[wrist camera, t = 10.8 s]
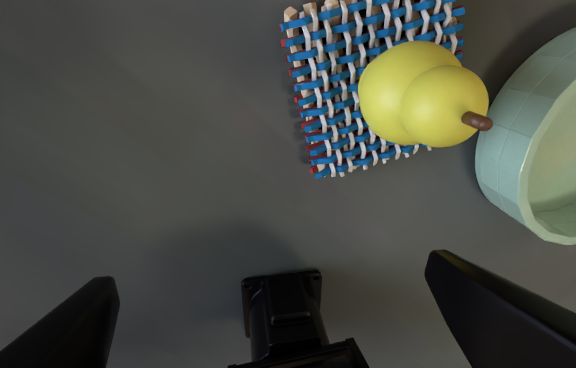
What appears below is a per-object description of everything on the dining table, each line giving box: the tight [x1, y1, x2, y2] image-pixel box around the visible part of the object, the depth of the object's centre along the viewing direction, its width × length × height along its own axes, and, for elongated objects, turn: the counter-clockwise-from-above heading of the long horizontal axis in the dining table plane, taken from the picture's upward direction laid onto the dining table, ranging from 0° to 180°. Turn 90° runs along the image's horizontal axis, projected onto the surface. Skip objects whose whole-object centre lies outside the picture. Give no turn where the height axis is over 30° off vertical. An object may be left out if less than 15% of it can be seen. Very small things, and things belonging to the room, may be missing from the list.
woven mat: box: [278, 0, 465, 179], centre depth 19 cm, size 10×11×2 cm
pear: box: [358, 41, 493, 147], centre depth 15 cm, size 5×5×8 cm
